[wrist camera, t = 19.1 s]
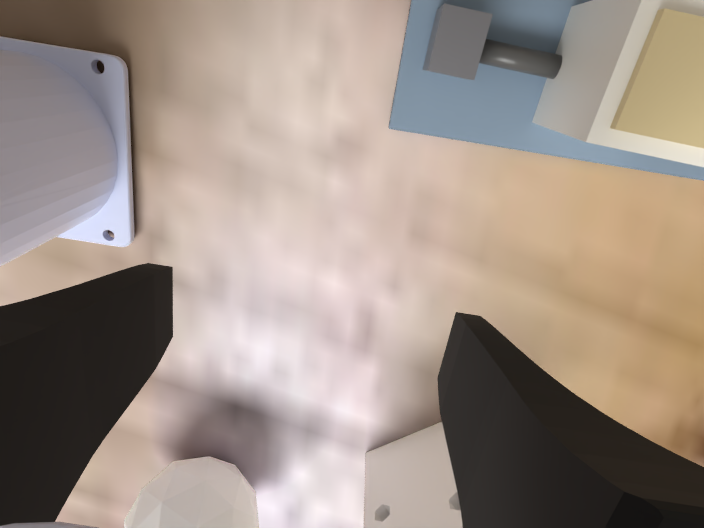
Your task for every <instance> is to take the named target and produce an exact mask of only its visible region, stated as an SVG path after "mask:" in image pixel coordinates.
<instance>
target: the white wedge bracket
mask: <svg viewBox="0 0 704 528" xmlns="http://www.w3.org/2000/svg"><path fill="white" fill-rule="evenodd" d="M364 528H463V525H462V516H461V509H460V503H459V498H458V492H457V488H456V483H455V479H454V474H453V470H452V465H451V461H450V456H449V452H448V447H447V443H446V438H445V433H444V429H443V424H442V422H439V423H437V424H435V425H432V426H430V427H427V428H425V429H422V430H420V431H418V432H415V433H413V434H410V435H408V436H405V437H403V438H400V439H398V440H396V441H393V442H391V443H388V444H386V445H383V446H381V447H379V448H376V449H374V450H371V451H369V452H366V454H365V493H364Z"/></svg>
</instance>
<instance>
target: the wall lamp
mask: <svg viewBox="0 0 704 528" xmlns="http://www.w3.org/2000/svg"><path fill="white" fill-rule="evenodd" d="M492 16H493V14H490V13H486V12H481V11H477V10H472V9H468V8H463V7H458V6H454V5H449V4H445V3H444V4H443V5H442V6H441V7H440V8H439V9H437V11H436V15H435V19H434V23H433V27H432V32H431V36H430V40H429V44H428V48H427V53H426V57H425V61H424V65H423V69H422V70H426V71H430V72H435V73H439V74H444V75H449V76H453V77H458V78H463V79H469V80H474V79H475V76H476V72H477V69H478V65H479V63H481V64H485V65H490V66H495V67H499V68H504V69H508V70H513V71H518V72H522V73H527V74H531V75H536V76H541V77H545V78H547V79H546V82H545V85H544V88H543V91H542V94H541V97H540V100H539V103H538V106H537V109H536V112H535V115H534V118H533V120H532V123H535V124H538V125H540V126H543V127H546V128H548V129H551V130H554V131H557V132H559V133H562V134H565V135H568V136H570V137H573V138H576V139H578V140H581V141H584V142H587V143H592V144H597V145H601V146H606V147H611V148H615V149H620V150H625V151H630V152H634V153H639V154H644V155H648V156H653V157H658V158H662V159H667V160H672V161H677V162H681V163H686V164H691V165H695V166H700V167H704V0H592V1H588V2H585V3H582V4H578V5H575V6H572V7H571V9H570V12H569V15H568V18H567V21H566V24H565V27H564V30H563V33H562V36H561V39H560V41H559V44H558V47H557V50H556V53H555V54H553V53H549V52H544V51H539V50H535V49H530V48H526V47H521V46H517V45H512V44H507V43H503V42H498V41H494V40H489V39H486V37H487V34H488V30H489V26H490V23H491V19H492Z"/></svg>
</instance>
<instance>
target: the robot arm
mask: <svg viewBox="0 0 704 528" xmlns="http://www.w3.org/2000/svg"><path fill="white" fill-rule="evenodd" d="M99 60H100V61H101V62H102V63H103V64H104V67H105V69H104V72H103V73H100V72H99V70H98V69H97V62H98V61H99ZM108 230H110V231H112V232H113V233H114V236H115V237H114V238H112V237H110V236H109V235H108V232H107V231H108ZM55 237H61V238H67V239H73V240H79V241H86V242H92V243H98V244H105V245H111V246H117V247H126V246H128V245H130V244H131V243H132V242H133V241H134V237H135V235H134V209H133V184H132V159H131V134H130V109H129V84H128V69H127V65H126V63H125V62H124V60H122V59H121V58H120V57H118V56H116V55H111V54H105V53H99V52H93V51H87V50H80V49H74V48H68V47H62V46H56V45H50V44H44V43H38V42H32V41H26V40H20V39H14V38H8V37H2V36H0V267H1V266H2V265H4V264H6V263H8V262H10V261H12V260H14V259H16V258H17V257H19V256H21V255H23V254H25V253H27V252H29V251H31V250H32V249H34V248H36V247H38V246H40V245H42V244H44V243H45V242H47V241H49V240H51V239H53V238H55ZM172 337H173V280H172V267H169V266H163V265H156V264H150V263H147V264H142V265H138V266H134V267H130V268H127V269H124V270H121V271H118V272H115V273H112V274H109V275H106V276H103V277H100V278H97V279H94V280H91V281H88V282H85V283H82V284H79V285H75V286H72V287H69V288H66V289H62V290H59V291H56V292H52V293H49V294H45V295H42V296H39V297H35V298H32V299H28V300H25V301H21V302H17V303H13V304H9V305H5V306H0V528H97V527H90V526H84V525H77V524H70V523H64V522H55V520H56V518H57V516H58V515H59V513H60V511H61V509H62V507H63V506H64V504H65V502H66V500H67V498H68V497H69V495H70V493H71V491H72V490H73V488H74V486H75V485H76V483H77V481H78V480H79V478H80V476H81V475H82V473H83V471H84V469H85V468H86V466H87V464H88V463H89V461H90V459H91V458H92V456H93V454H94V453H95V451H96V450H97V449H98V447H99V446H100V444H101V443H102V441H103V440H104V438H105V437H106V436H107V434H108V433H109V432H110V430H111V429H112V427H113V426H114V425H115V423H116V422H117V421H118V419H119V418H120V417H121V415H122V414H123V413H124V411H125V410H126V409H127V407H128V406H129V405H130V403H131V402H132V401H133V399H134V398H135V397H136V395H137V394H138V392H139V391H140V390H141V388H142V387H143V386H144V384H145V383H146V381H147V380H148V379H149V377H150V376H151V375H152V373H153V372H154V370H155V369H156V367H157V365H158V364H159V362H160V360H161V358H162V356H163V355H164V353H165V351H166V349H167V347H168V345H169V343H170V341H171V339H172ZM438 392H439V405H440V414H441V419H442V424H443V429H444V433H445V438H446V443H447V447H448V452H449V456H450V461H451V465H452V470H453V474H454V479H455V483H456V488H457V492H458V498H459V503H460V509H461V516H462V525H463V528H704V467H702V466H700V465H698V464H696V463H694V462H692V461H690V460H687V459H685V458H683V457H681V456H679V455H677V454H675V453H673V452H671V451H669V450H667V449H665V448H663V447H661V446H659V445H658V444H656V443H654V442H652V441H650V440H648V439H646V438H645V437H643V436H641V435H639V434H638V433H636V432H634V431H632V430H631V429H629V428H627V427H625V426H624V425H622V424H620V423H618V422H617V421H615V420H613V419H612V418H610V417H608V416H607V415H605V414H604V413H602V412H601V411H599V410H598V409H596V408H595V407H593V406H592V405H590V404H589V403H587V402H586V401H584V400H583V399H581V398H580V397H578V396H577V395H575V394H574V393H572V392H571V391H570V390H568V389H567V388H566V387H564V386H563V385H562V384H560V383H559V382H558V381H557V380H555V379H554V378H553V377H551V376H550V375H549V374H548V373H546V372H545V371H544V370H543V369H541V368H540V367H539V366H538V365H537V364H535V363H534V362H533V361H532V360H531V359H529V358H528V357H527V356H526V355H525V354H524V353H523V352H521V351H520V350H519V349H518V348H517V347H516V346H515V345H513V344H512V343H511V342H510V341H509V340H508V339H507V338H506V337H505V336H503V335H502V334H501V333H500V332H499V331H498V330H497V329H496V328H494V327H493V326H492V325H491V324H490V323H489V322H487V321H486V320H485V319H483V318H482V317H481V316H477V315H470V314H464V313H458V312H456V314H455V318H454V321H453V325H452V328H451V332H450V336H449V339H448V343H447V346H446V350H445V353H444V357H443V361H442V364H441V368H440V371H439V375H438Z"/></svg>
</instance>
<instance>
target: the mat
mask: <svg viewBox="0 0 704 528" xmlns="http://www.w3.org/2000/svg"><path fill="white" fill-rule="evenodd" d="M588 1H592V0H411V5H410V11H409V16H408V22H407V27H406V33H405V39H404V44H403V50H402V55H401V61H400V66H399V72H398V78H397V83H396V89H395V94H394V100H393V106H392V111H391V117H390V122H389V129H394V130H400V131H406V132H413V133H419V134H425V135H431V136H437V137H443V138H449V139H455V140H461V141H467V142H473V143H479V144H485V145H491V146H497V147H503V148H509V149H516V150H522V151H528V152H534V153H540V154H546V155H552V156H558V157H564V158H570V159H576V160H582V161H588V162H594V163H600V164H606V165H612V166H619V167H625V168H631V169H637V170H643V171H649V172H655V173H661V174H667V175H673V176H679V177H685V178H691V179H697V180H703V181H704V167H700V166H695V165H691V164H686V163H681V162H677V161H672V160H667V159H662V158H658V157H653V156H648V155H644V154H639V153H634V152H630V151H625V150H620V149H615V148H611V147H606V146H601V145H597V144H592V143H587V142H584V141H581V140H578V139H576V138H573V137H570V136H568V135H565V134H562V133H559V132H557V131H554V130H551V129H548V128H546V127H543V126H540V125H538V124H535V123H532V120H533V118H534V115H535V112H536V109H537V106H538V103H539V100H540V97H541V94H542V91H543V88H544V85H545V82H546V79H547V78H545V77H541V76H536V75H531V74H527V73H522V72H518V71H513V70H508V69H504V68H499V67H495V66H490V65H485V64H481V63H479V65H478V69H477V72H476V76H475V79H474V80H469V79H463V78H458V77H453V76H449V75H444V74H439V73H435V72H430V71H426V70H422V69H423V65H424V61H425V57H426V53H427V48H428V44H429V40H430V36H431V32H432V27H433V23H434V19H435V15H436V11H437V9H439V8H440V7H441V6H442V5H443V4H444V3H445V4H449V5H454V6H458V7H463V8H468V9H472V10H477V11H481V12H486V13H490V14H493V16H492V19H491V23H490V26H489V30H488V34H487V37H486V39H489V40H494V41H498V42H503V43H507V44H512V45H517V46H521V47H526V48H530V49H535V50H539V51H544V52H549V53H553V54H555V53H556V50H557V47H558V44H559V41H560V39H561V36H562V33H563V30H564V27H565V24H566V21H567V18H568V15H569V12H570V9H571V7H572V6H575V5H578V4H582V3H585V2H588Z"/></svg>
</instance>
